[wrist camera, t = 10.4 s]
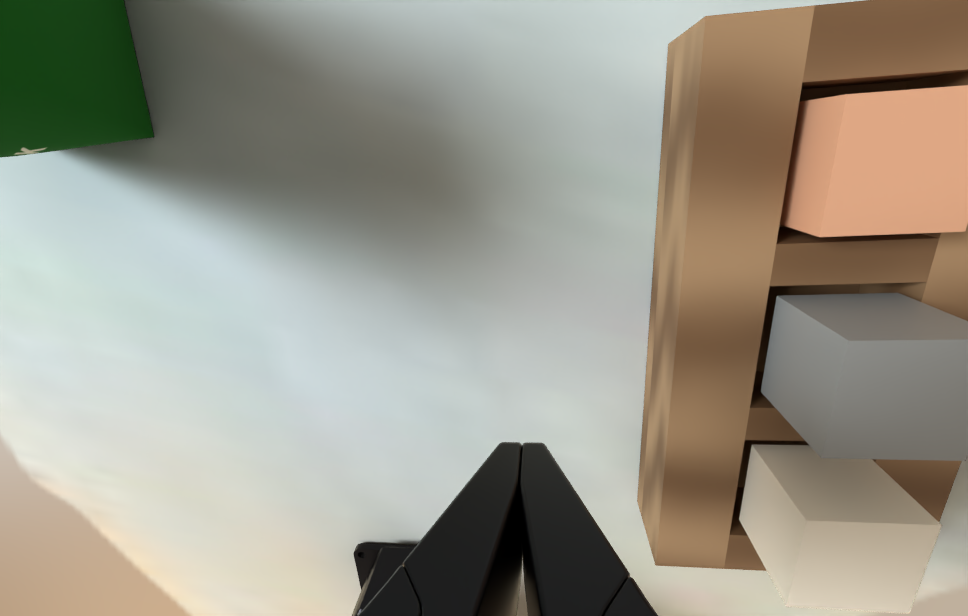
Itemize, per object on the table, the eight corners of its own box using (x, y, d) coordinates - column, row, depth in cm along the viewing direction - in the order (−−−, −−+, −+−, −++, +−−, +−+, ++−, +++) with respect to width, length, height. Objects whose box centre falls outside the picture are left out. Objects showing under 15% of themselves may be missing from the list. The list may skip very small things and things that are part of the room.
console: (856, 507, 23) (918, 577, 19) (637, 501, 24) (655, 565, 21) (994, 14, 16) (1139, -27, 12) (668, 44, 17) (705, 16, 13)
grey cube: (872, 391, 17) (965, 460, 13) (760, 391, 18) (821, 458, 14) (898, 292, 16) (1010, 339, 12) (776, 295, 16) (848, 340, 13)
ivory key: (837, 522, 19) (909, 613, 16) (739, 519, 20) (786, 606, 16) (857, 445, 18) (942, 525, 14) (751, 444, 18) (806, 520, 15)
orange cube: (870, 212, 17) (965, 231, 13) (758, 217, 17) (819, 237, 14) (897, 96, 16) (1010, 81, 12) (774, 105, 16) (846, 94, 12)
